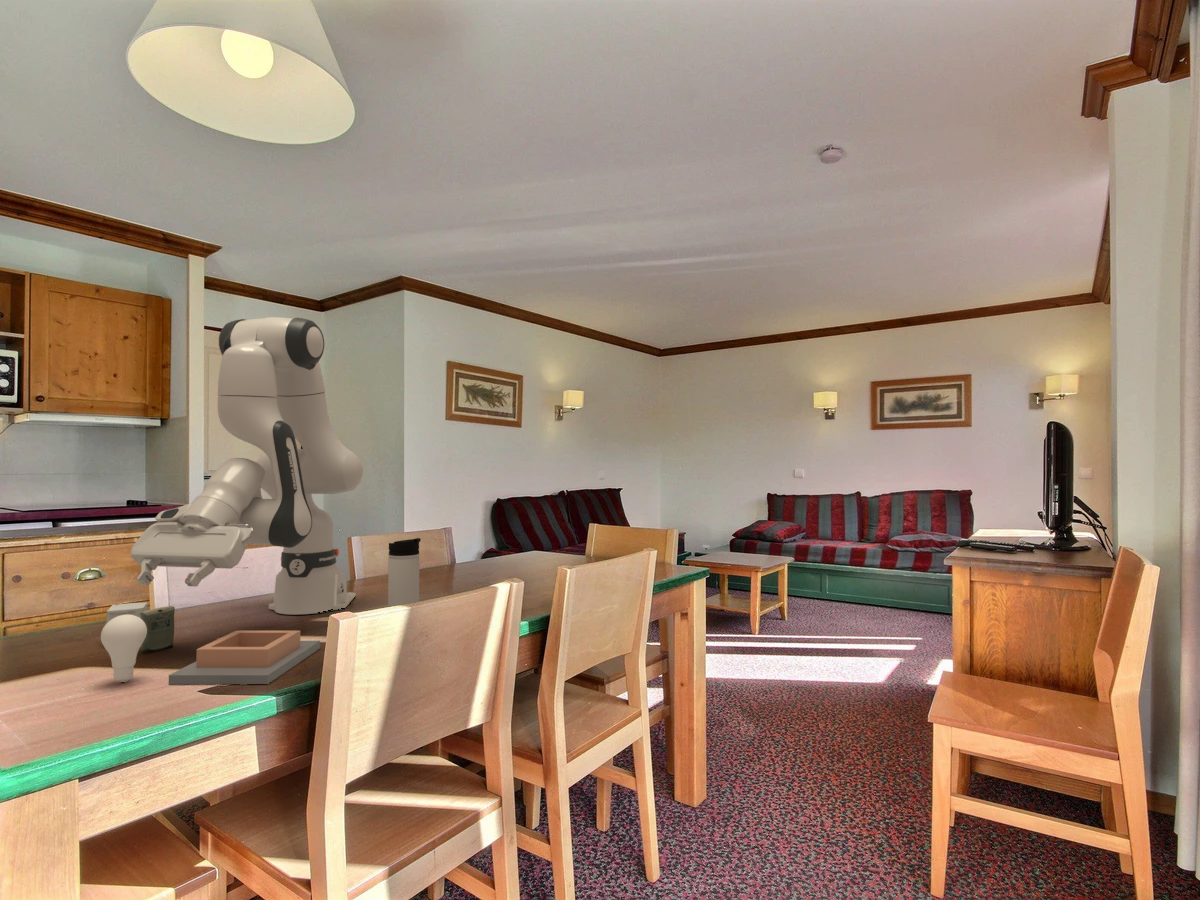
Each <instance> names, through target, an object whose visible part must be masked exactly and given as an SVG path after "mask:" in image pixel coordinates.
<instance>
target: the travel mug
mask: <svg viewBox="0 0 1200 900" xmlns="http://www.w3.org/2000/svg"><path fill="white" fill-rule="evenodd" d="M420 542H422V541H421V537H416V538H412V539H411V538H410V539H404V540H397V541H393V542H389V543H388V559H387V561H388V562H387V563H388V564H387V565H388V568H387V569H388V571H387V575H388V577H387V579H388V580H387V581H388V582H387V608H388V607H391V606H396V605H404V604H410V603H416V602H419V603H420V550H419V549H420Z"/></svg>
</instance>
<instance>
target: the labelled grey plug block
mask: <svg viewBox="0 0 1200 900" xmlns="http://www.w3.org/2000/svg"><path fill="white" fill-rule="evenodd" d="M175 611H176V608H175V606H172V605H168V606H163V607H162V606H161V607H157V608H152V609H148V610H146V611H143V612H141V613H140V616H141V619H142V620H143V621H144V622H145V624H146V627H147V635H146V638H145V639H144V641H143V643H142V645H141V646H140V650H141V651H140V653H141V652H142V654H147V653H146V652H150V653H153V652H152V651H154V652H157V650H158V651H162V650H165V649H170V648H173V646H174V640H175V639H174V638H175ZM161 649H162V650H161Z"/></svg>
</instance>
